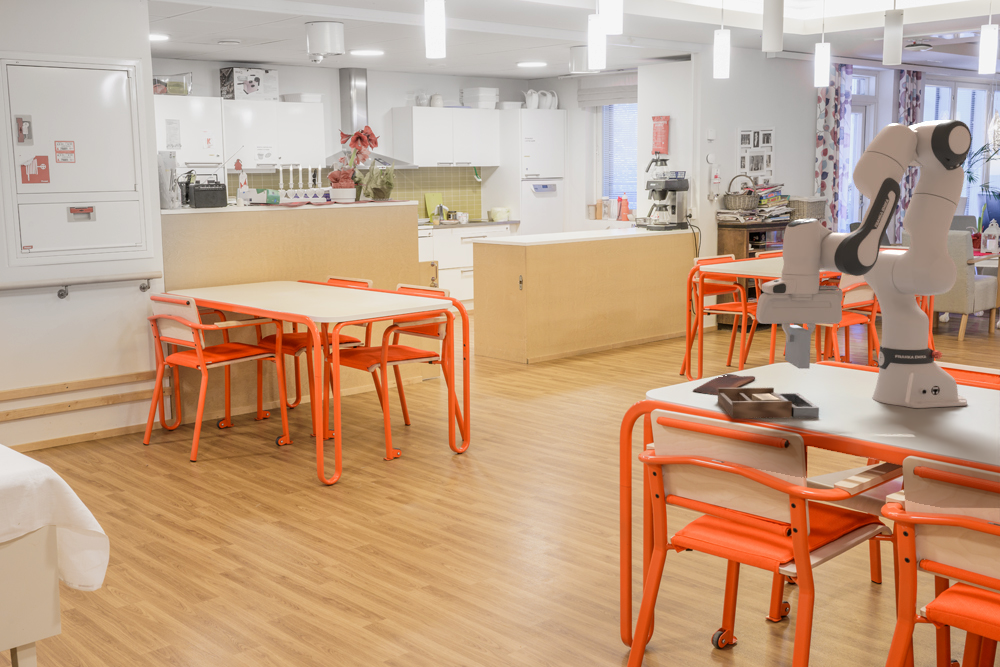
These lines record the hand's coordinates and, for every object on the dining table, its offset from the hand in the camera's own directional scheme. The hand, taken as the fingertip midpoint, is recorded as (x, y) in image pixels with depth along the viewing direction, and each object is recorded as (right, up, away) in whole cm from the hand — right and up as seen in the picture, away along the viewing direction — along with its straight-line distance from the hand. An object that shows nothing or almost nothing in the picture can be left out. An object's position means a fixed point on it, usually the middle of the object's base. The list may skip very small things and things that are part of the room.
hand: (797, 341), depth 231 cm
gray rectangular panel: (0, -6, +1) cm, 6 cm away
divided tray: (-10, -17, +3) cm, 20 cm away
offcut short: (-7, -16, +3) cm, 17 cm away
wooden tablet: (-7, -13, +29) cm, 32 cm away
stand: (0, -17, +2) cm, 17 cm away
